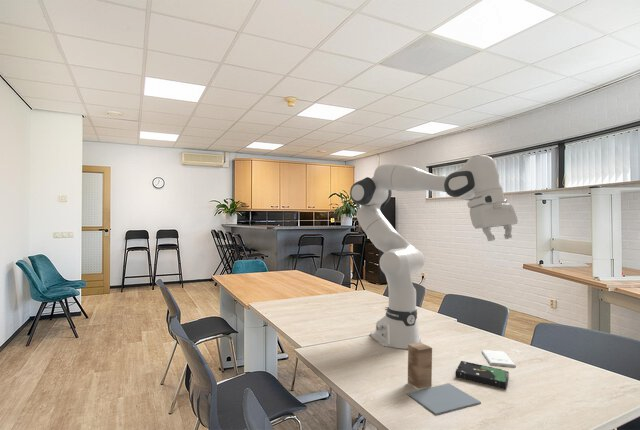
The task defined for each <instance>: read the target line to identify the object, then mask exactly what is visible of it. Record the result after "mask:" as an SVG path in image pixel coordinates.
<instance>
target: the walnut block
mask: <svg viewBox="0 0 640 430" xmlns="http://www.w3.org/2000/svg"><path fill="white" fill-rule="evenodd" d="M432 370H433V348H432V347H431V346H429V345H427V344H425V343H424V342H419V343H415V344H408V351H407V384H408V385H409V386H410V387H412V388H414V389H415V390H416V391H417V390H421V389H426V388H430V387H433V386H432V385H433V384H432V383H433V382H432V375H433V374H432V372H433V371H432Z"/></svg>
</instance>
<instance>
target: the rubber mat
mask: <svg viewBox="0 0 640 430" xmlns="http://www.w3.org/2000/svg"><path fill="white" fill-rule="evenodd" d="M406 395H407V396H409V397H411V399H413V400H414V401H416V402H417V403H418V404H419V405H421V406H422V407H424V408H425V409H427V410H428V411H430V412H431V413H432V414H434V416H437V415H442V414H444V413H449V412H453V411H457V410H460V409H464V408H468V407H472V406H476V405H480V404H482V401H481V400H478V399H477V398H475V397H474V396H472V395H471V394H469V393H466V392H465V391H463V390H462V389H460V388H458V387H456V386H455V385H452V384H451V383H444V384H440V385H436V386H431V387H430V388H426V389H421V390H417V389H416V390H412V391H409V392H406Z"/></svg>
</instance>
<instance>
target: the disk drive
mask: <svg viewBox="0 0 640 430" xmlns="http://www.w3.org/2000/svg"><path fill="white" fill-rule="evenodd" d="M509 375H510V372H509V371H507V370H505V369H502V368H496V367H492V366H488V365H483V364H478V363H474V362H473V363H472V362H468V361H465V360H464V361H463V360H461V361H460V363H459V364H458V366H457V368H456V369H455V378H456V379H458V380H459V379H460V380H463V381H468V382H474V383H477V384H481V385H485V386H489V387H494V388H497V389H503V390H507V387H508V382H509V377H510V376H509Z"/></svg>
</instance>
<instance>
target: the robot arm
mask: <svg viewBox="0 0 640 430" xmlns="http://www.w3.org/2000/svg"><path fill="white" fill-rule="evenodd" d="M392 191H396V192H423V191H425V192H426V191H435V192H441V193H442V192H443V193H446V194H447V195H449V196H450V197H452V198H455V199H461V200H466V201H467V202H466V203H467V204H466V206H467V207H468V208H469V217H470V220H471V224H472V226H473V227H474V229H476V230H479V229H482V232H483V234H484V235H485V236H486V239H487V241H488V242H493V241H495V240H496V238H495V234H493V233H492V231H491V230H492V228H498V227H503V229H504V234H503V237H504V239H506V240H508V239H512V238H513V235H512V230H513V225H516V224H518V221H519V220H518V217H517V214H516V211H515V208H514V206H513V205H512V204H511V202H509V201H508V199H506V198H505V195H504V190H503V187H502V185H501V184H500V174H499V172H498V168H497V166H496V163H495V161H494V159H493V158H492V157H491V156H488V155H485V154H484V155H475V156H472V157H469V158H468V159H467V161H466V163H465V164H464V165H462V166H461V167H460V168H459V169H457V170H455V171H454V172H452V173H450V174H448V175H447V176H445V175H438V174H433V173H430V172H427V171H425V170H422V169H420V168H417V167H415V166H412V165H409V164H408V165H407V164H401V163H400V164H399V163H384V164H381V165H378V166H377V167H376V169H375V170H374V172H373V176H372V177H368V176H367V177H364V178H363V179H361V180H359V181H356V182H354V183H353V184H352V186H351V187H350V190H349V196H350V199H351V200H352V202H354V204H356V205H359V206H360V207H359V208H358V209H357V211H356V214H355V215H356V219H357V221H358V223H359V225H360V227H361V229H362V231H363V232H364V233H365V235H366V236H367V238H369V240H370V241H371V243H372V245H374V247H375V248H376V249H378V251H381V252H382V253H383V254H382V255H381V256H380V258H379V268H380V270H381V272H382V273H383V274H384V276H385V279H386V282H387V287H388V306H387V307H385V308H384V311H385V314H384V316H382V317H381V318H380V319H379V320H377V321H376V324H375V330H373V331H370V333H369V335H370V336H371V337H372V338H373V339H374V340H376V342H378V344H380V345H381V346H383V347H389V348H395V349H404V350H405V349H406V350H407V349H408V344H415V343H421V341H422V340H421V337H420V334H419V322H418V321H417V319H418V310H417V290H416V287H414V285H413V284H414V283H413V281H412V274H414V273H415V274H416V273H418V272H419V271H420V270H421V269H423V266H424V265H425V262H426V261H425V256H424V254H423V252H422V251H421V250H419V249H417V248H416V247H414V246H413V245H412V244H411V243H410V242H409V241H408V240H407V239H406V238H404V237H403V236H402V235H401V234H400V233H399V232H398V231H397V230H396V229H395V228H394V226H393V225H392V224H391V222H390V221H389V220H388V219H387V218H386V217H385V216H384V214H383V213H382V211H381V210H382V209H383V210H384V209H385V208H386V206H387V204H388V203H389V202H390V200H391V198H392Z"/></svg>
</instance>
